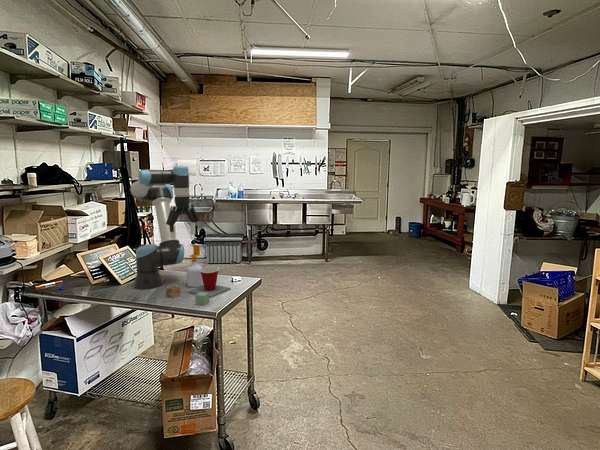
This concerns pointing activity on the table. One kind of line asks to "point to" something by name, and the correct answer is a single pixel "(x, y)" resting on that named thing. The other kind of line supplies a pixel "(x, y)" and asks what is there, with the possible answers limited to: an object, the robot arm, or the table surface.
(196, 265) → the soap bottle
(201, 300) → the green block
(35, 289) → the table surface
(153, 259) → the robot arm
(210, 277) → the plastic cup
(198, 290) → the charcoal mat
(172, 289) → the walnut block
